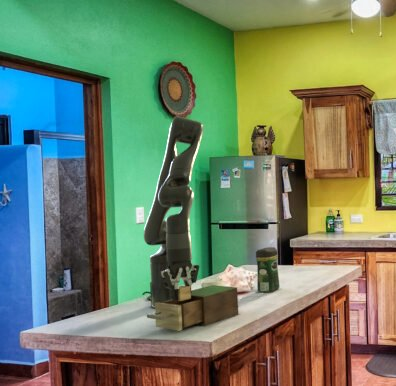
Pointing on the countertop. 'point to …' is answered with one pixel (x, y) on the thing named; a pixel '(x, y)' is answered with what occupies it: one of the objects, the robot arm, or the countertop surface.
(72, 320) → the countertop surface
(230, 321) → the countertop surface
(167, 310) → the drawer
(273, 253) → the coffee jar
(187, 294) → the block
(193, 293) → the cabinet
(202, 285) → the white cup
